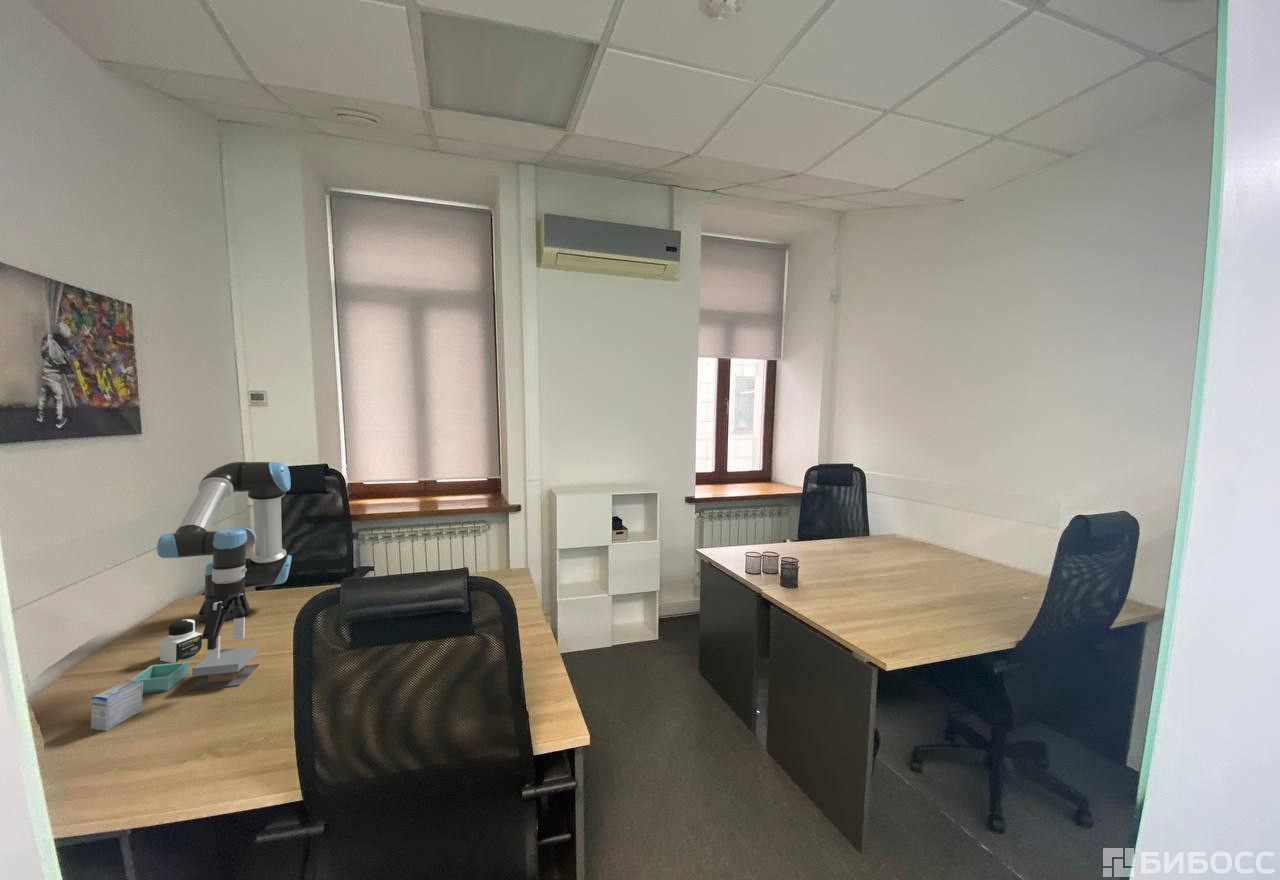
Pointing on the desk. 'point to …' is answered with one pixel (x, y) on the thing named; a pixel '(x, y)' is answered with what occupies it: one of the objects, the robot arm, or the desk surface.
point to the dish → (162, 676)
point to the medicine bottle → (181, 642)
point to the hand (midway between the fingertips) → (226, 648)
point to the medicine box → (116, 705)
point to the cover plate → (225, 661)
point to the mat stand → (224, 679)
